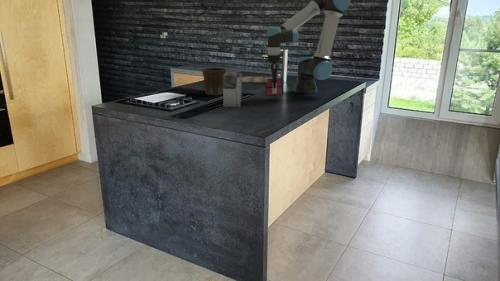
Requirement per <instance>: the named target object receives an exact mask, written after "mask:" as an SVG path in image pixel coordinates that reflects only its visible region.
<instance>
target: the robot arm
mask: <svg viewBox="0 0 500 281" xmlns="http://www.w3.org/2000/svg"><path fill="white" fill-rule="evenodd" d="M350 5H351V0H311V1H309V3H308V5H307V6H305V7H304V8H303V9H301V10H300V11H299V12H297V13H295V15H293V16H292V17H291V18H289V19H288V20H286V21H285V22H284V23H283V24H281V25H280V26H270V27H269V26H268V28H267V32H266V33H267V35H266V36H267V38H266V39H267V48H266V51H267V62H269V63H270V72H271V76H272V81H271V83H272V94H275V93H277V76H278V74H277V72H278V63H277V62H280V61H281V44H293V43H297V42H298V41H299V39H300V34H299V31H298V30H297V29H299V28H300V27H301V26H303V25H304V24H305V23H306V22H308V21H309V20H311V19H312V18H313V17H314V16H318V15H320V14H321V13H324V15H325V16H324V21H323V25H322V28H321V32H320V37H319V40H318V44H317V48H316V53H315V54H313V55H312V56H305V57H298V61H297V76H296V77H297V78H296V83H295V85H294V90H293V91H294V93H296V94H297V93H298V94H303V95H304V94H305V95H307V94H308V95H309V94H311V95H312V94H316V93H318V88H317V85H316V80H321V81H322V80H327V79H328V78H329V77H330V76H331V75H332V73H333V65H332V63H331V61H332V58H331V53H332V48H333V45H334V42H335V41H334V40H335V37H336V34H337V29H338V26H339V21H340V18H341V17H343V16H344V11H346V10H348V9H349V6H350Z"/></svg>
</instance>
